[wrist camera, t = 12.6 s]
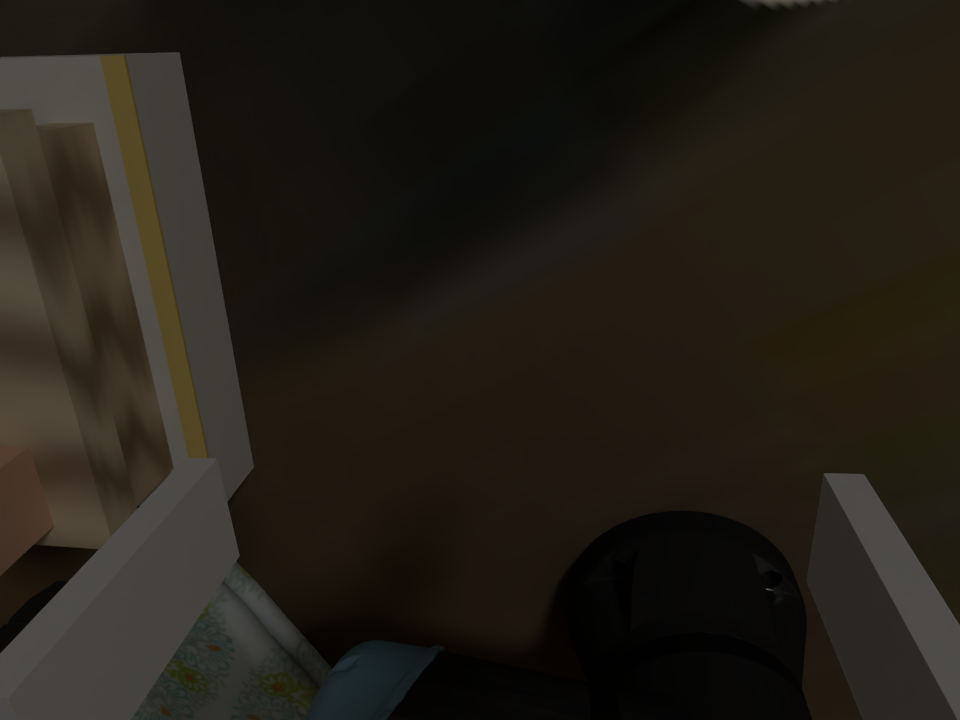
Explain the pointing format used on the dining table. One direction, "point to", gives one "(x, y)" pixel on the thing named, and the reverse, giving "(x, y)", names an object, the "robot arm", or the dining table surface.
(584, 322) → the dining table surface
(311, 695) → the towel
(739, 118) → the dining table surface
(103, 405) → the board
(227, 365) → the dock
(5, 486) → the block
